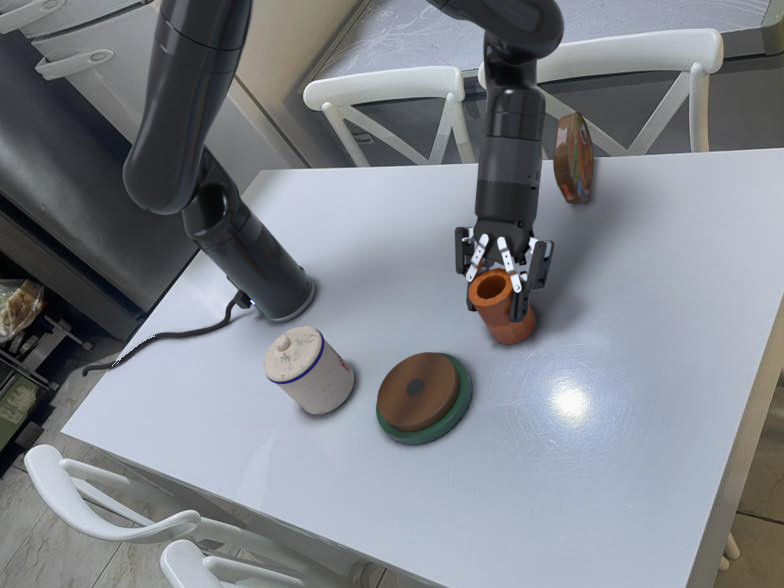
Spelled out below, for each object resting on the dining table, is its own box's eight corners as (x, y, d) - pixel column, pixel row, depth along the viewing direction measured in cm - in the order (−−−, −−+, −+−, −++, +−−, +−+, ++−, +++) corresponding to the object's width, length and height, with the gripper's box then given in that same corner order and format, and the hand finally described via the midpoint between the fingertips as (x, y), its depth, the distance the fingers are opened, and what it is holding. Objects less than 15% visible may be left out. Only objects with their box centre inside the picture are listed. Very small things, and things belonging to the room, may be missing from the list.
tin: (588, 213, 99) (570, 168, 93) (566, 217, 100) (548, 172, 94) (595, 144, 107) (580, 98, 101) (575, 149, 108) (559, 103, 102)
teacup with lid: (368, 370, 98) (322, 318, 89) (332, 424, 95) (281, 376, 86) (312, 353, 105) (264, 304, 96) (277, 403, 101) (224, 357, 93)
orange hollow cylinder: (484, 338, 93) (459, 300, 87) (507, 304, 95) (484, 264, 89) (521, 349, 89) (497, 310, 83) (543, 313, 91) (522, 272, 85)
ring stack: (366, 440, 90) (354, 428, 88) (402, 357, 97) (391, 344, 95) (453, 449, 84) (442, 436, 82) (484, 360, 91) (475, 346, 88)
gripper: (443, 172, 85) (433, 308, 90) (540, 183, 77) (523, 332, 81) (482, 175, 91) (471, 302, 95) (576, 185, 82) (559, 324, 87)
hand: (495, 315), depth 88 cm, fingers closed on orange hollow cylinder, 6 cm apart
